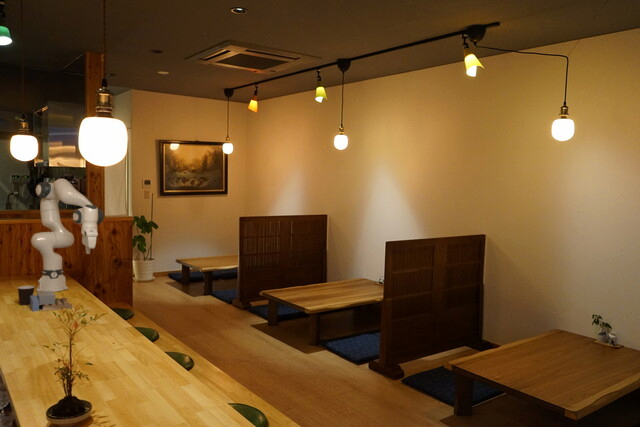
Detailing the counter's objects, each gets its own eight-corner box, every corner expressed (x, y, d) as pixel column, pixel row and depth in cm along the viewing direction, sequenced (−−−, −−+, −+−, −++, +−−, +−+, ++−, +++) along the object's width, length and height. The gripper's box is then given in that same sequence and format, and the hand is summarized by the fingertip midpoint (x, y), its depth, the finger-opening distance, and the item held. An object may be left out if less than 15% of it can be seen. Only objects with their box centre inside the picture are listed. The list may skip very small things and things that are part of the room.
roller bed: (38, 304, 297) (38, 299, 296) (66, 301, 305) (66, 296, 305) (42, 311, 282) (42, 305, 282) (72, 308, 291) (72, 303, 291)
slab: (36, 300, 293) (36, 292, 293) (52, 299, 298) (52, 290, 298) (39, 305, 284) (39, 296, 283) (55, 303, 288) (55, 295, 288)
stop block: (29, 305, 292) (30, 295, 292) (35, 305, 294) (35, 295, 294) (32, 311, 281) (32, 300, 281) (38, 310, 283) (39, 300, 282)
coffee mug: (28, 306, 292) (28, 289, 291) (14, 305, 292) (14, 288, 291) (40, 301, 303) (40, 285, 303) (26, 300, 303) (26, 284, 303)
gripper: (80, 228, 315) (78, 250, 316) (87, 233, 298) (85, 256, 299) (91, 229, 319) (89, 250, 320) (98, 233, 302) (97, 256, 303)
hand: (87, 253), depth 309 cm, fingers closed
